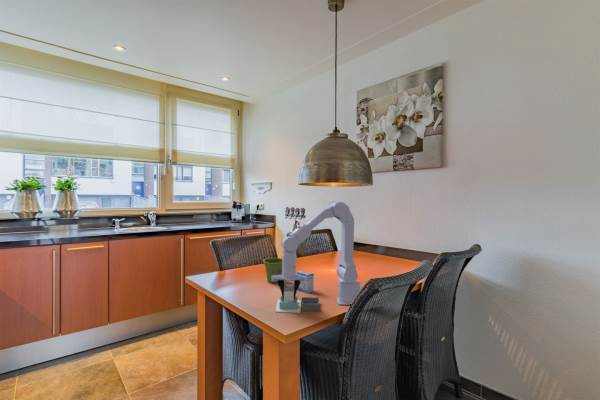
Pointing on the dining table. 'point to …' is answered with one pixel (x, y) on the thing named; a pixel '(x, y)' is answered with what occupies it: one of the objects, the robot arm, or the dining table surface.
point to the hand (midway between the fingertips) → (288, 298)
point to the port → (289, 306)
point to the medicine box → (307, 285)
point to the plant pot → (273, 268)
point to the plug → (288, 293)
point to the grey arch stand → (310, 303)
